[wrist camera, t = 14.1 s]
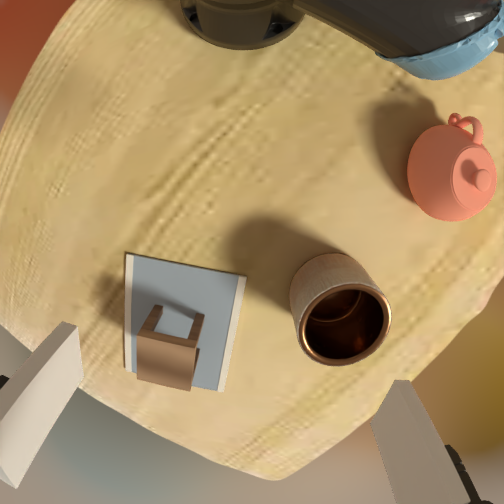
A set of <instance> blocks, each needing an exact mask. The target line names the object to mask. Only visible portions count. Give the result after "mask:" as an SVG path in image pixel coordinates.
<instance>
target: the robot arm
mask: <svg viewBox="0 0 504 504" xmlns="http://www.w3.org/2000/svg"><path fill="white" fill-rule="evenodd" d="M181 8H182V11H183V14H184V16H185V18H186V20H187V22H188V23H189V25H190V27H191V28H192V29H193V30H194V32H195V33H196V34H198V35H199V36H200V37H201V38H203V39H204V40H206V41H208V42H209V43H212V44H214V45H216V46H219V47H223V48H227V49H233V50H253V49H260V48H264V47H267V46H270V45H273V44H275V43H278V42H280V41H281V40H283V39H285V38H286V37H288V36H289V35H290V34H291V33H292V32H293V31H294V30H295V29H296V28H297V27H298V26H299V24H300V23H301V21H302V19H303V17H304V14H307V15H309V16H312V17H314V18H316V19H318V20H320V21H322V22H324V23H326V24H328V25H329V26H331V27H333V28H335V29H337V30H339V31H341V32H343V33H344V34H346V35H348V36H350V37H352V38H353V39H355V40H357V41H358V42H360V43H362V44H364V45H365V46H367V47H368V48H370V49H372V50H373V51H375V54H376V55H378V56H379V57H380V58H382V59H384V60H387V61H390V62H393V63H394V64H396V65H398V66H399V67H401V68H402V69H404V70H405V71H407V72H408V73H410V74H412V75H413V76H415V77H418V78H421V79H428V80H442V79H447V78H451V77H454V76H456V75H459V74H461V73H463V72H465V71H467V70H469V69H470V68H472V67H474V66H475V65H477V64H478V63H479V62H481V61H482V60H483V59H485V58H486V57H487V56H488V55H489V54H490V53H491V52H492V51H493V50H494V49H495V48H496V46H497V45H498V41H497V39H498V38H500V37H502V36H504V1H503V0H181ZM83 377H84V374H83V367H82V360H81V352H80V344H79V334H78V326H75V325H72V324H69V323H66V322H63V321H62V322H61V323H60V324H59V325H58V326H57V327H56V328H55V329H54V331H53V332H52V333H51V334H50V335H49V336H48V337H47V338H46V339H45V340H44V341H43V342H42V343H41V344H40V345H39V346H38V348H37V349H36V350H35V351H34V352H33V353H32V354H31V355H30V356H29V357H28V359H27V360H26V361H25V362H24V363H23V364H22V365H21V367H20V368H19V369H18V370H17V371H16V372H15V373H14V374H13V375H12V377H11V378H8V377H6V376H4V375H1V376H0V479H1V480H3V481H4V482H6V483H7V484H9V485H11V486H12V487H14V488H16V489H17V487H18V486H19V483H20V482H21V480H22V478H23V476H24V475H25V473H26V471H27V469H28V467H29V466H30V464H31V462H32V460H33V459H34V457H35V455H36V453H37V452H38V450H39V448H40V447H41V445H42V443H43V441H44V440H45V438H46V436H47V435H48V433H49V431H50V429H51V428H52V426H53V425H54V423H55V421H56V420H57V418H58V417H59V415H60V413H61V412H62V410H63V408H64V407H65V405H66V404H67V402H68V401H69V399H70V397H71V396H72V394H73V392H74V391H75V390H76V388H77V387H78V385H79V383H80V382H81V380H82V379H83ZM370 424H371V427H372V430H373V433H374V436H375V439H376V442H377V445H378V448H379V451H380V454H381V457H382V460H383V463H384V466H385V469H386V472H387V475H388V478H389V481H390V484H391V487H392V491H393V493H394V497H395V500H396V503H397V504H493V503H491V502H490V501H485V500H484V501H481V499H480V498H479V496H478V494H477V491H476V489H475V487H474V485H473V483H472V481H471V479H470V477H469V475H468V473H467V472H466V469H465V467H464V465H463V464H462V461H461V459H460V457H459V455H458V453H457V452H456V451H455V450H454V449H453V448H452V447H451V446H450V445H444V444H443V442H442V440H441V439H440V436H439V434H438V432H437V431H436V429H435V427H434V425H433V423H432V421H431V419H430V417H429V416H428V414H427V412H426V410H425V408H424V406H423V404H422V402H421V401H420V399H419V397H418V395H417V393H416V392H415V390H414V388H413V386H412V384H411V383H410V381H409V380H394V382H393V384H392V386H391V388H390V390H389V392H388V393H387V395H386V397H385V399H384V400H383V402H382V404H381V406H380V407H379V409H378V411H377V413H376V414H375V416H374V418H373V419H372V421H371V423H370Z"/></svg>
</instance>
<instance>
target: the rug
mask: <svg viewBox="0 0 504 504" xmlns="http://www.w3.org/2000/svg"><path fill="white" fill-rule="evenodd" d="M246 279H247V276H243V275H237V274H232V273H226V272H221V271H216V270H211V269H205V268H200V267H195V266H190V265H185V264H180V263H175V262H170V261H165V260H160V259H155V258H150V257H145V256H140V255H135V254H130V253H127V256H126V276H125V365H126V371H129V372H134V373H137V355H136V343H137V334H138V332H139V330H140V329H141V327H142V325H143V324H144V322H145V320H146V319H147V317H148V315H149V314H150V312H151V310H152V309H153V307H154V305H155V304H156V305H161V306H163V314H162V316H161V318H160V320H159V322H158V324H157V326H156V328H155V330H154V332H158V333H163V334H167V335H172V336H176V337H181V338H186V339H187V338H188V335H189V332H190V330H191V327H192V324H193V321H194V318H195V315H196V313H199V314H204V315H205V318H204V323H203V327H202V330H201V334H200V337H199V341H198V344H197V348H199V349H200V353H199V358H198V362H197V366H196V370H195V374H194V377H193V381H192V385H191V386H194V387H199V388H204V389H209V390H215V391H218V392H224V388H225V383H226V378H227V373H228V368H229V363H230V358H231V353H232V348H233V343H234V338H235V333H236V329H237V324H238V319H239V314H240V309H241V304H242V299H243V294H244V289H245V284H246Z"/></svg>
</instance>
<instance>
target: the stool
mask: <svg viewBox="0 0 504 504" xmlns="http://www.w3.org/2000/svg"><path fill="white" fill-rule="evenodd" d="M162 314H163V306H161V305H156V304H155V305H154V307H153V309H152V310H151V312H150V314H149V315H148V317H147V319H146V320H145V322H144V324H143V325H142V327H141V329H140V330H139V332H138V334H137V343H136V355H137V379H139V380H143V381H147V382H151V383H155V384H159V385H163V386H167V387H172V388H176V389H181V390H185V391H190V389H191V385H192V381H193V377H194V374H195V370H196V366H197V362H198V358H199V353H200V349H199V348H197V344H198V341H199V337H200V334H201V330H202V327H203V323H204V318H205V315H204V314H199V313H196V315H195V318H194V321H193V324H192V327H191V330H190V332H189V335H188V338H187V339H186V338H181V337H176V336H172V335H167V334H163V333H158V332H154V330H155V328H156V326H157V324H158V322H159V320H160V318H161V316H162Z"/></svg>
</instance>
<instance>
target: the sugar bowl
mask: <svg viewBox="0 0 504 504" xmlns="http://www.w3.org/2000/svg"><path fill="white" fill-rule="evenodd" d="M448 124H449V125H437V126H433V127H431V128H429V129H427V130H426V131H424V132H423V133H422V134H421V135H420V136H419V137H418V139H417V140H416V141H415V143H414V145H413V147H412V149H411V152H410V155H409V159H408V166H407V177H408V183H409V187H410V190H411V193H412V195H413V197H414V199H415V201H416V203H417V204H418V206H419V207H420V208H421V209H422V210H423V211H424V212H425V213H426V214H428V215H429V216H431V217H433V218H436V219H439V220H442V221H461V220H465V219H468V218H470V217H472V216H474V215H476V214H477V213H479V212H480V211H481V210H483V209H484V208H485V207H486V206H487V205H488V203H489V202H490V201H491V199H492V197H493V195H494V192H495V189H496V182H497V174H496V168H495V165H494V162H493V160H492V158H491V156H490V154H489V152H488V151H487V149H486V148H485V147H484V145H483V144H482V140H483V128H482V125H481V123H480V121H479V120H478V119H476V118H475V117H471V116H468V117H464V118H462V117H461V116H460V115H459V114H457V113H453V114H451V115H450V117H449V120H448ZM469 124H472V125H473V135H472V134H471V133H469V132H468V131H466V130H464V129H462V128H464V127H466V126H467V125H469Z"/></svg>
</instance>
